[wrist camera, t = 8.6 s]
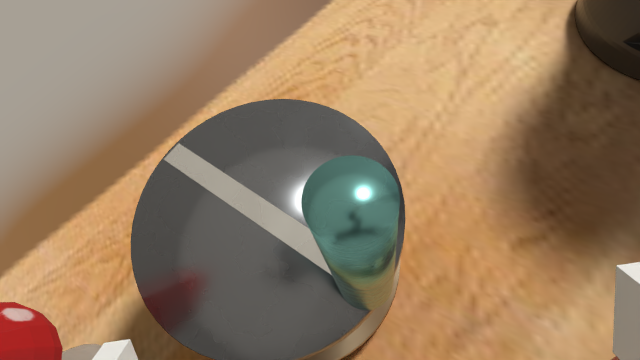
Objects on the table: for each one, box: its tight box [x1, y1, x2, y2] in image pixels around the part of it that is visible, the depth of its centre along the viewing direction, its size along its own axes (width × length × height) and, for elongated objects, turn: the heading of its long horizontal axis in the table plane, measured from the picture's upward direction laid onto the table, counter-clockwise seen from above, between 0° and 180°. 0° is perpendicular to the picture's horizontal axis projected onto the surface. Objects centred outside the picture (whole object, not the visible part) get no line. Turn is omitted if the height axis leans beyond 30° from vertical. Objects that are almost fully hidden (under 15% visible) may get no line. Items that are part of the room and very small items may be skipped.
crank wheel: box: [131, 99, 405, 360], centre depth 22 cm, size 16×16×18 cm
